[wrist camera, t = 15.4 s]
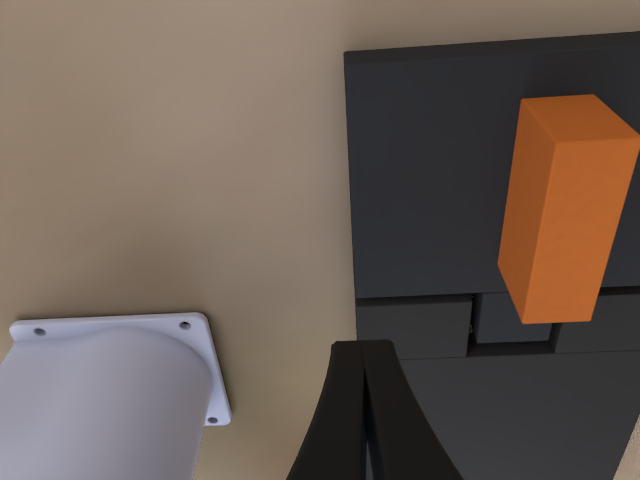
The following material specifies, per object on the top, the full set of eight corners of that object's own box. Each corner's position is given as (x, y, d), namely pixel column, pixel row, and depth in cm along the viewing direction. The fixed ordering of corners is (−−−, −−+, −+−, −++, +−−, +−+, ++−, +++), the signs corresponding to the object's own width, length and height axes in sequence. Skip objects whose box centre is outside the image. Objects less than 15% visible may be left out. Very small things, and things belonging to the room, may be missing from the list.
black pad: (362, 464, 33) (364, 488, 32) (354, 284, 25) (355, 306, 24) (601, 457, 32) (612, 481, 31) (672, 269, 24) (690, 292, 23)
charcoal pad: (356, 325, 26) (361, 411, 22) (343, 51, 19) (347, 104, 15) (655, 312, 26) (718, 399, 21) (764, 21, 18) (891, 70, 14)
